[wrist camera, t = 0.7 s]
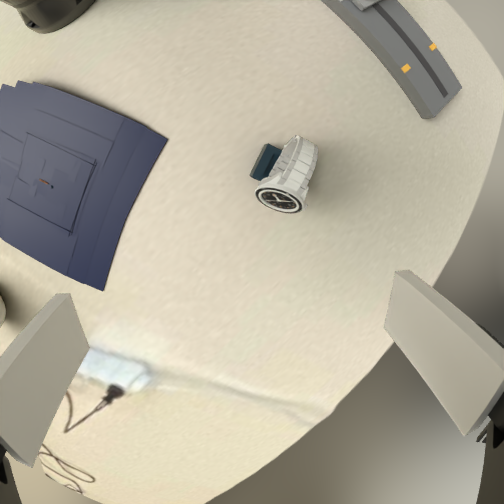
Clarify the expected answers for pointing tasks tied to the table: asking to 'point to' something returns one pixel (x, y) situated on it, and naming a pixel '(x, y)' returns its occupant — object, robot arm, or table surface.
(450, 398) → the robot arm
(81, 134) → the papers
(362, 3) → the fader tab
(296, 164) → the watch
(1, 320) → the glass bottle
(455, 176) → the table surface
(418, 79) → the console
